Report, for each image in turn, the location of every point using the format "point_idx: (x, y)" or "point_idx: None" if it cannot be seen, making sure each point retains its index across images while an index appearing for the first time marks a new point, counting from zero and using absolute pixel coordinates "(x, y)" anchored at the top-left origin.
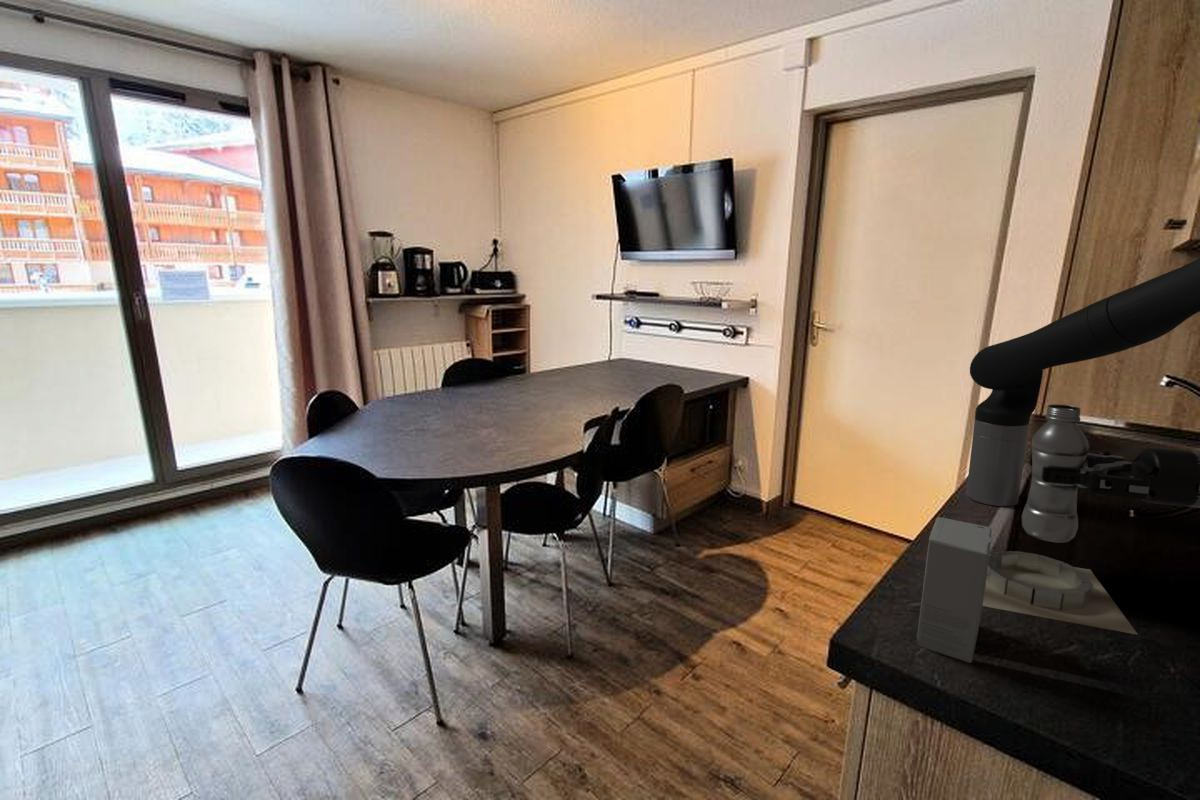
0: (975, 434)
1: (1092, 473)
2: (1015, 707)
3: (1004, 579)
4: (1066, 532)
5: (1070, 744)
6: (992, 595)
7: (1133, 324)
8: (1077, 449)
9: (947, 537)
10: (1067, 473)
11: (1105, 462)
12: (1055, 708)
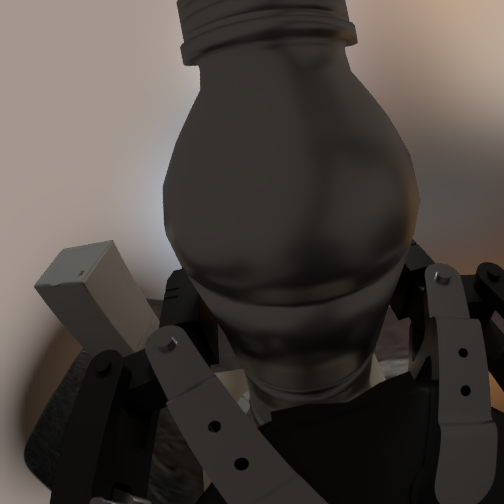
0: None
1: (116, 359)
2: (66, 393)
3: (245, 394)
4: None
5: (42, 415)
6: (236, 393)
7: None
8: (168, 234)
9: (63, 256)
10: (163, 308)
11: (409, 435)
12: (68, 419)
